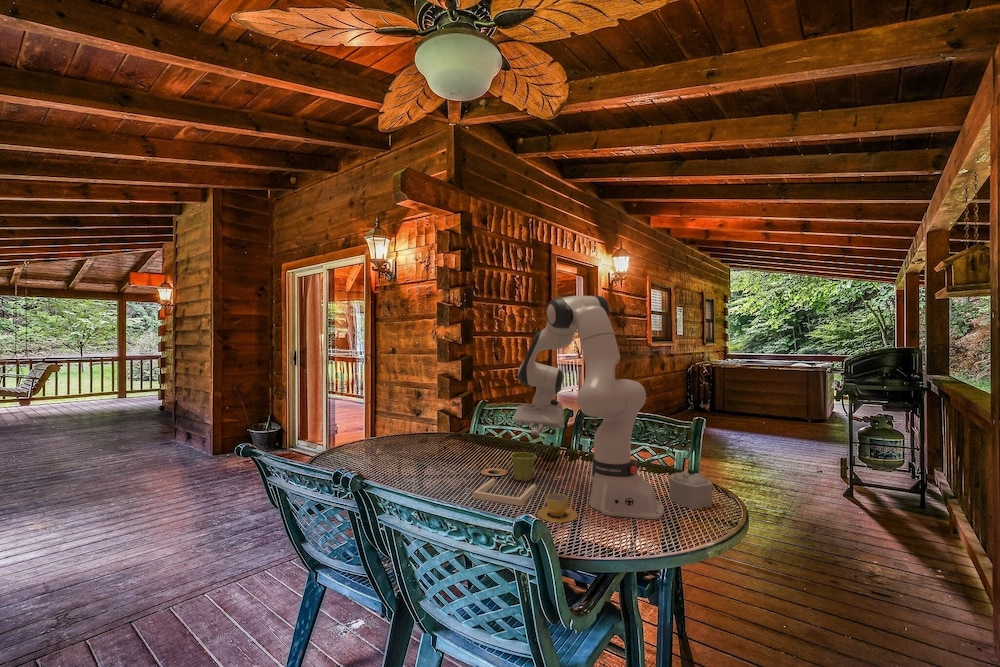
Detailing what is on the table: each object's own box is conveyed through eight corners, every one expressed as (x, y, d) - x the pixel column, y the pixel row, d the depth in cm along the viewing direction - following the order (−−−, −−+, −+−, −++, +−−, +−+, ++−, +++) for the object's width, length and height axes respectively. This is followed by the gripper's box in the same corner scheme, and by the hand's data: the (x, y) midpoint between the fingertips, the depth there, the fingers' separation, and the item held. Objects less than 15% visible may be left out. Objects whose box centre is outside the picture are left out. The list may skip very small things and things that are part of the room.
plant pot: (506, 477, 172) (506, 453, 172) (528, 473, 176) (528, 451, 176) (517, 484, 163) (517, 460, 163) (540, 481, 167) (541, 457, 167)
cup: (573, 526, 129) (573, 507, 129) (532, 520, 133) (532, 501, 133) (581, 510, 140) (581, 493, 140) (542, 505, 144) (542, 488, 144)
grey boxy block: (692, 511, 140) (692, 482, 140) (660, 497, 152) (661, 470, 152) (716, 506, 144) (717, 478, 144) (684, 492, 156) (684, 467, 156)
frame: (536, 490, 157) (536, 484, 157) (520, 506, 143) (520, 499, 143) (491, 484, 163) (491, 478, 163) (473, 498, 149) (473, 492, 149)
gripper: (516, 399, 192) (507, 427, 183) (564, 402, 184) (557, 432, 175) (520, 408, 196) (511, 436, 187) (567, 412, 188) (560, 441, 180)
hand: (534, 434), depth 181 cm, fingers closed
